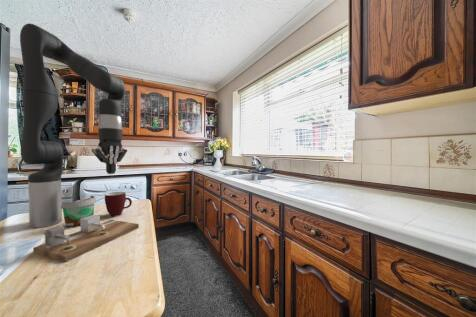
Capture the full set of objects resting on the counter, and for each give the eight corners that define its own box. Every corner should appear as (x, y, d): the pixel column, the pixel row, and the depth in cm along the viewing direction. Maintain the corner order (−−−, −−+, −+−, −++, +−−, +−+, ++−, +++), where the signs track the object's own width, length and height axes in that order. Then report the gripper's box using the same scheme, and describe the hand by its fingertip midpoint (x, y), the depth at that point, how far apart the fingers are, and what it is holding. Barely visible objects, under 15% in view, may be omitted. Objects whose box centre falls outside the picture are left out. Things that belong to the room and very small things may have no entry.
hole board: (33, 252, 55) (32, 230, 55) (111, 223, 78) (111, 207, 77) (65, 262, 51) (65, 238, 50) (138, 227, 73) (138, 211, 73)
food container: (74, 230, 70) (73, 203, 70) (61, 228, 72) (60, 202, 71) (104, 219, 82) (103, 196, 82) (92, 217, 84) (91, 195, 83)
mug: (129, 210, 95) (129, 190, 95) (133, 214, 89) (133, 193, 89) (103, 214, 88) (103, 193, 88) (106, 219, 82) (106, 196, 82)
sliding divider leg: (80, 230, 65) (80, 218, 64) (92, 226, 68) (92, 215, 68) (97, 234, 62) (97, 221, 62) (109, 229, 66) (109, 217, 66)
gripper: (118, 130, 79) (119, 171, 80) (84, 126, 67) (85, 175, 68) (132, 129, 77) (133, 172, 78) (100, 125, 65) (101, 176, 65)
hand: (111, 173), depth 73 cm, fingers closed
